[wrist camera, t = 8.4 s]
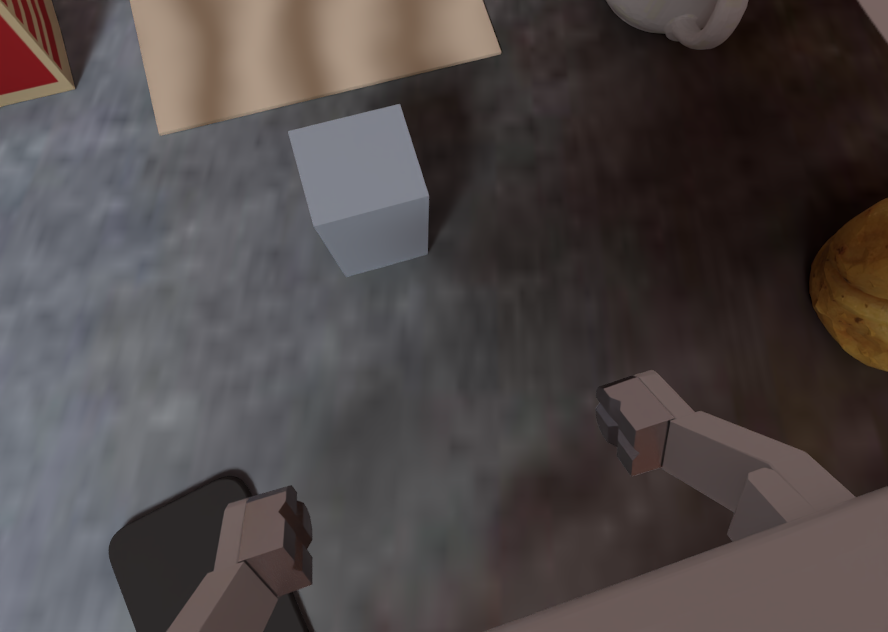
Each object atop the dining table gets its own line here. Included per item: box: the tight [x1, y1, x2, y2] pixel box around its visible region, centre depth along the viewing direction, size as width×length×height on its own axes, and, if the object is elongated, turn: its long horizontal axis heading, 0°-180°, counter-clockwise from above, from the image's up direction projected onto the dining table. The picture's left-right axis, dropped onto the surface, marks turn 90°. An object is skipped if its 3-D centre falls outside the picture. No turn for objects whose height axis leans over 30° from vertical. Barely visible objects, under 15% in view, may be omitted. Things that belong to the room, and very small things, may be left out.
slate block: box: [288, 104, 429, 277], centre depth 23 cm, size 5×4×8 cm
